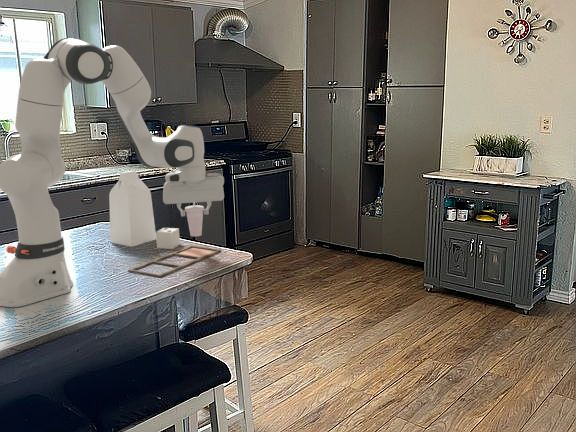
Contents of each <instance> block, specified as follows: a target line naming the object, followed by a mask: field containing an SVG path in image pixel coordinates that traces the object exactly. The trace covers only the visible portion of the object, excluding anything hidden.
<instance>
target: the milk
mask: <svg viewBox="0 0 576 432" xmlns="http://www.w3.org/2000/svg"><path fill="white" fill-rule="evenodd" d="M118 177H119V178H118V181H117V182H116V183H115V185H113V187H112V188H111V190H110V192H109V195H108V197H109V200H108V201H109V234H110V236H109V238H110V240H109V241H110V243H111V244H116V245H121V246H126V247H130V248H131V247H135V246H138V245H142V244H145V242H146V243H149V242H152V241H155V240H156V232H157V231H156V225H155V217H154V216H155V215H154V208H153V201H152V193H151V191H150V188H149V187H148V186H147V185H146V183H144V181H143V180H142V179H141V178H140V177H139V176H138V173H137V171H136V170H129V171H122V172H120V174H119V176H118Z"/></svg>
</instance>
